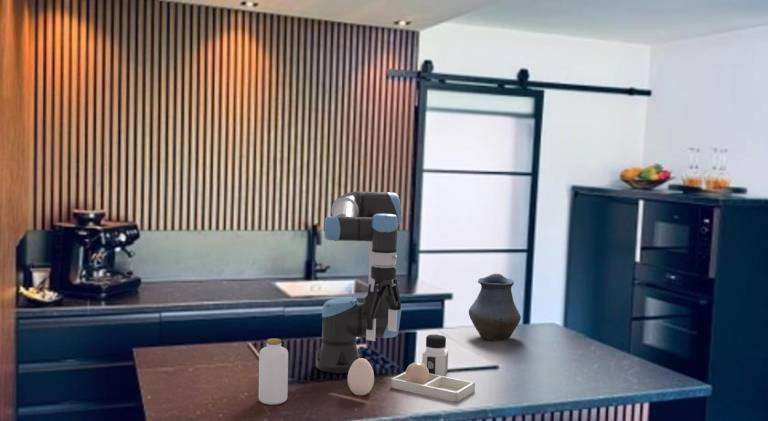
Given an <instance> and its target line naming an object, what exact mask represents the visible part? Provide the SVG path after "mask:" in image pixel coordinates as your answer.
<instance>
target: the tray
mask: <svg viewBox="0 0 768 421" xmlns="http://www.w3.org/2000/svg"><path fill="white" fill-rule="evenodd" d="M405 374H406V371H404V372H402V373H400V374H399V375H396V376H393V377H391V378H390V389H391V388H392V389H396V390H401V391H405V392H410V393H414V394H418V395H423V396H427V397H432V398H436V399H441V400H445V401H449V402H450V401H451V402H453V403H454V402H455V403H458V402H460V401H461V400H463V399H465V398H466V397H468V396H469V395H471V394H473V393H474V392H475V387H476V386H475V385H476V384H475V382H473V381H469V380H464V379H459V378H454V377H451V376H446V375H445V376H441V375H435V374H431V373H429V379H428V381H427V382H426V383H425V384H424V385H422V384H417V383H413V382H408V381H407V379H406V375H405Z"/></svg>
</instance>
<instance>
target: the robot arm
mask: <svg viewBox="0 0 768 421" xmlns="http://www.w3.org/2000/svg"><path fill="white" fill-rule="evenodd" d="M331 215H332V216H326V217H325V219H324V239H325V240H327V241H332V242H333V241H334V242H368V243H369V244H368V245H369V246H368V285H367V286H368V289H367V290H368V291H367V294H366V295H365V296H364V297H363V302H360V301H359V300H358V299H357V297H354V296H344V297H343V296H342V297H341V296H340V297H336V298H332V299H329V300H327V301H325V302H324V303H323V306H322V314H321V318H322V322H321V323H322V325H321V326H322V329H321V331H322V332H321V346H320V347H319V348H320V349H319V350H318V355H317V357H316V360H315V361H316V362H315V364H316V365H315V367H316V369H318V370H320V371H322V372H326V373H331V374H333V373H335V374H347V373H348V372H349V369H350V367H351V365H352V364H353V362H354V361H355V360H357V359H359V358H361V357H360V354H359V351H358V347H357V346H358V345H357V338H365V340H366V341H372V342H376V338H380V339H381V338H382V339H385V338H387V339H388V338H389V339H390V338H396V337H397V336H398V334H399V331H400V330H399V329H400V323H401V322H400V321H401V315H402V306H403V304H402V301H401V297H400V292H399V291H400V290H399V288H398V279H397V267H396V265H397V260H398V256H397V252H398V251H397V248H398V247H397V244H398V228H399V225H401V224H402V218H403V217H402V216H403V215H402V207H401V201H400V197H399V195H398V193H396V192H388V191H358V190H357V191H351V192H346V193H344V194H343V195H340V196H339V197H337V198H336V199H335V200H334V202H333V203H332V206H331Z"/></svg>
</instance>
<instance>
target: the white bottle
mask: <svg viewBox="0 0 768 421" xmlns="http://www.w3.org/2000/svg"><path fill="white" fill-rule="evenodd" d="M258 354H259V355H258V357H259V358H258V400H259V401H260V403H262V404H265V405H269V406H271V405H272V406H273V405H280V404H283V403H285V402H286V401H287V399H288V393H289V392H288V390H289V386H288V385H289V379H288V378H289V351H288V349H287V348H286V347H284V346H282V340H281V339H280V338H268V339H267V340H266V346H264V347H263V348H261V349H260V351H259V353H258Z"/></svg>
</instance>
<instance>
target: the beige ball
mask: <svg viewBox="0 0 768 421" xmlns="http://www.w3.org/2000/svg"><path fill="white" fill-rule="evenodd" d="M405 372H406V374H405V375H406V379H407V381H408V382H413V383H417V384H422V385H424V384H425V383H426V382H427V381H428V379H429V370H428V368H427V367H426V366H425V365H424V364H423V363H422V362H419V361H416V362H412V363H410V364H409V365H408V366H407V368H406V369H405Z"/></svg>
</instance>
